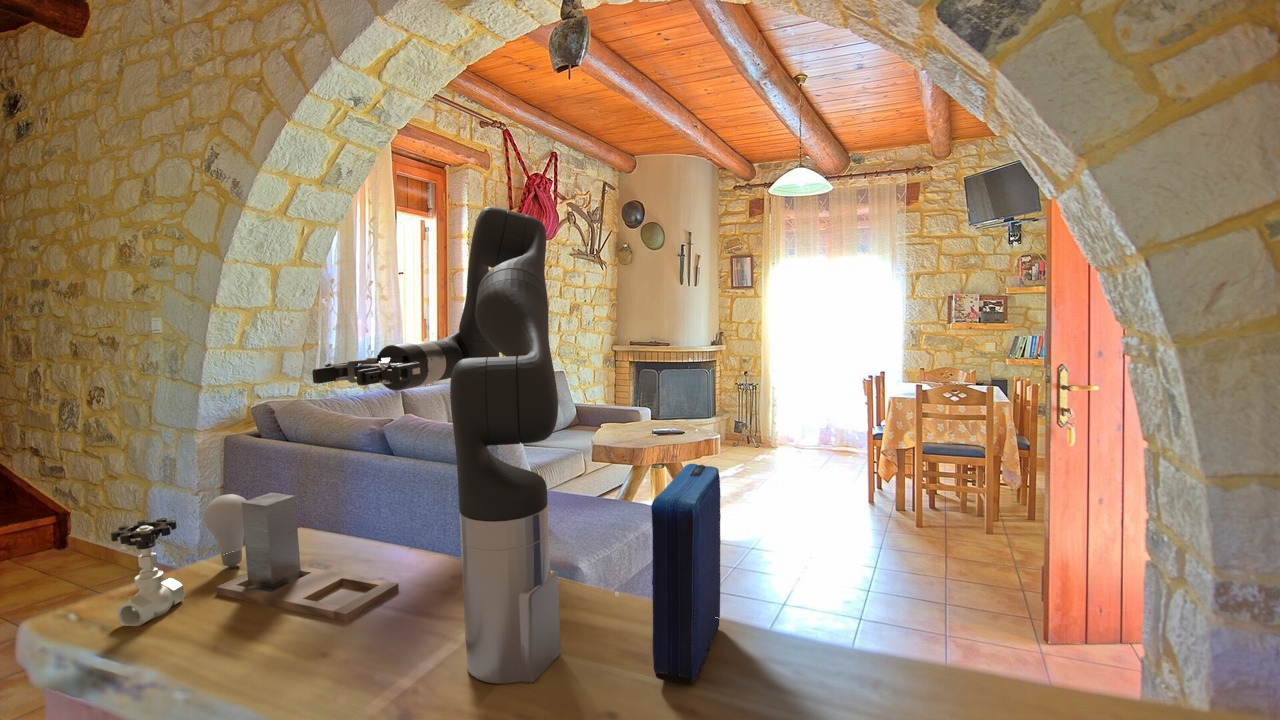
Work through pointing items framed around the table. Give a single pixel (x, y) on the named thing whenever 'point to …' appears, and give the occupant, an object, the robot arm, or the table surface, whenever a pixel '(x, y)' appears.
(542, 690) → the table surface
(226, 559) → the lightbulb
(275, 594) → the tray
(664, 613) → the blue case
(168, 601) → the valve
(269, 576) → the metal block
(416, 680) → the table surface
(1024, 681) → the table surface
